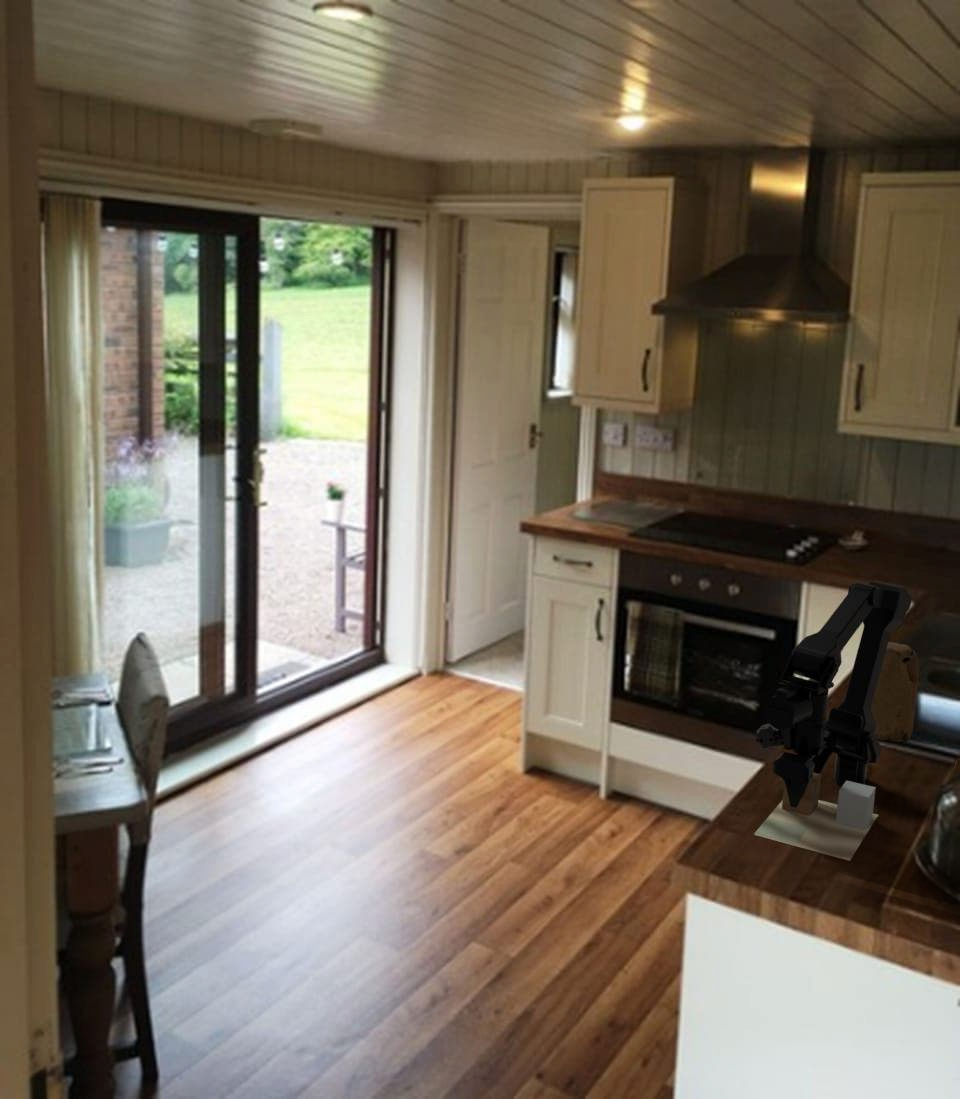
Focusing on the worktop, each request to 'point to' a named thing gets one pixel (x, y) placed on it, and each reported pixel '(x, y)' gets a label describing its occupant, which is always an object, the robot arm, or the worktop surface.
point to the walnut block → (805, 797)
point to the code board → (814, 830)
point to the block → (896, 694)
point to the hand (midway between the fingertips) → (801, 797)
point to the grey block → (855, 805)
